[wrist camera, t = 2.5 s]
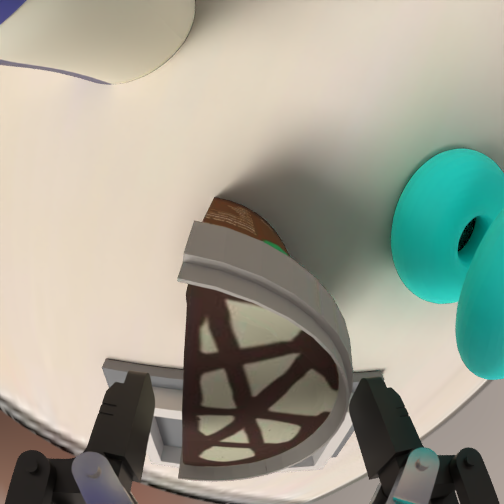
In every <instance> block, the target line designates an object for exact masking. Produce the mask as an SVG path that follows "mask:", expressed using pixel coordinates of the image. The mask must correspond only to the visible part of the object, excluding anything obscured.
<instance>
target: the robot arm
mask: <svg viewBox="0 0 504 504" xmlns="http://www.w3.org/2000/svg"><path fill="white" fill-rule="evenodd" d="M154 410H155V396H154V392H153V387H152V383H151V378H150V374H149V373H145V372H138V371H132V370H129V371H128V373H127V375H126V378H125V381H124V383H119V382H115V383H114V384H113V385H112V386H111V387H110V388H109V389H108V390H107V391H106V394H105V396H104V399H103V402H102V405H101V407H100V410H99V414H98V416H97V419H96V422H95V425H94V427H93V430H92V433H91V436H90V440H89V443H88V445H87V448H86V449H85V451H84V452H83V453H81V454H80V455H78V456H77V457H75V458H72V459H47V458H46V457H45V456H44V455H43V454H42V453H41V452H38V451H35V450H29V451H25V452H23V453H22V454H21V455H20V456H19V458H18V460H17V463H16V466H15V469H14V472H13V475H12V479H11V483H10V486H9V490H8V494H7V497H6V502H5V504H138V502H137V501H136V499H135V498H134V496H133V495H132V493H131V491H130V490H131V484H132V481H136V482H141V477H142V472H143V466H144V461H145V455H146V450H147V445H148V440H149V435H150V430H151V425H152V420H153V415H154ZM349 414H350V417H351V421H352V424H353V427H354V430H355V433H356V437H357V440H358V443H359V446H360V450H361V453H362V456H363V460H364V463H365V466H366V470H367V473H368V477H369V479H374V478H378V477H379V479H380V483H379V485H378V487H377V489H376V491H375V493H374V495H373V497H372V499H371V501H370V503H369V504H459V503H458V500H457V497H456V494H455V490H456V491H457V494H458V498H459V501H460V504H499V501H498V498H497V495H496V493H495V490H494V487H493V484H492V482H491V479H490V476H489V474H488V471H487V469H486V467H485V464H484V462H483V459H482V457H481V455H480V453H479V452H478V451H477V450H475V449H473V448H464V449H462V450H461V451H460V452H459V453H458V454H457V455H436V453H435V452H434V451H432V450H431V449H429V448H424V447H423V445H422V443H421V441H420V439H419V436H418V434H417V432H416V430H415V427H414V425H413V423H412V421H411V418H410V416H408V412H407V410H406V408H405V406H404V403H403V401H402V399H401V397H400V395H398V394H397V393H396V392H395V391H394V390H393V389H392V388H387V387H386V385H385V382H384V380H383V379H382V377H380V376H377V377H367V378H362V379H361V380H360V382H359V384H358V386H357V388H356V390H355V392H354V394H353V396H352V398H351V400H350V403H349Z"/></svg>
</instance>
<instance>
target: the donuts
mask: <svg viewBox="0 0 504 504" xmlns="http://www.w3.org/2000/svg"><path fill="white" fill-rule="evenodd" d="M475 217H476V222H475V227H474V230H473V233H472V235H471V237H470V239H469V241H468V242H467V244H466V245H465V246H464V247H463V248H462V249H461V250H460V251H459V252H458V244H459V239H460V237H461V235H462V232H463V231H464V229H465V227H466V226H467V225H468V223H469V222H470V221H471V220H472V219H474V218H475ZM391 250H392V257H393V261H394V264H395V267H396V270H397V273H398V275H399V277H400V278H401V280H402V282H403V283H404V284H405V286H406V287H407V288H408V289H409V290H410V291H411V292H412V293H413V294H415V295H416V296H418V297H419V298H421V299H423V300H425V301H429V302H433V303H438V304H446V303H454V302H458V307H457V314H456V341H457V347H458V351H459V353H460V356H461V359H462V361H463V362H464V364H465V365H466V367H467V368H468V369H469V370H470V371H471V372H472V373H474V374H475V375H476V376H479V377H481V378H484V379H489V380H497V379H503V378H504V173H503V171H502V170H501V169H500V167H499V166H498V165H497V164H496V163H495V162H494V161H493V160H492V159H490V158H489V157H487V156H486V155H484V154H483V153H480V152H478V151H475V150H471V149H464V148H459V149H452V150H447V151H444V152H442V153H439V154H437V155H436V156H434V157H432V158H431V159H429V160H428V161H427V162H426V163H424V164H423V165H422V166H421V167H420V168H419V169H418V170H417V171H416V172H415V174H414V175H413V176H412V177H411V179H410V180H409V182H408V183H407V185H406V187H405V188H404V190H403V192H402V194H401V196H400V199H399V201H398V204H397V207H396V210H395V213H394V217H393V223H392V231H391Z"/></svg>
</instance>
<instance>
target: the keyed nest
mask: <svg viewBox="0 0 504 504" xmlns="http://www.w3.org/2000/svg"><path fill="white" fill-rule="evenodd" d="M102 369H103V372H104V375H105V378H106V380H107V383H108V386H109V388H110V387H111V386H112V385H113V384H114V383H115V382H119V383H124V381H125V378H126V375H127V373H128V371H129V370H132V371H138V372H145V373H149V374H150V378H151V383H152V387H153V392H154V396H155V410H154V415H153V420H152V425H151V430H150V435H149V440H148V445H147V450H146V453H147V456H148V458H149V460H150V462H151V464H155V465H161V466H168V467H175V468H179V466H180V458H181V450H182V396H183V372H184V370H180V369H171V368H163V367H155V366H148V365H141V364H134V363H128V362H122V361H116V360H110V359H106V360H105V362H104V364H103V366H102ZM377 376H380V377H382V379H383V380H384V378H383V375H382V373H381V371H373V372H360V373H353V388H352V392H351V396H350V399H349V403H350V400H351V398H352V396H353V394H354V392H355V390H356V388H357V386H358V384H359V382H360V380H361V379H362V378H367V377H377ZM353 431H354V427H353V424H352V421H351V417H350V414H349V406H348V410H347V413H346V416H345V420H344V421H343V423H342V425H341V426H340V428H339V430H338V431H337V433H336V434H335V435H334V436H333V437H332V439H331V440H330V441H329V442H328V443H327V444H326V445H325V446H324V447H322V448H321V449H320V450H319V451H317V452H316V453H315V454H313V455H312V456H310V457H308V458H307V459H305V460H303V461H301V462H300V463H297V464H295V465H293V466H291V467H288V468H286V469H284V470H281V471H278V472H297V471H309V470H320V469H323V468H324V466H325V465H326V464H327V462H328V461H329V459H330V458H331V457H336V456H337V455H338V453H339V452H340V451H341V449H342V448H343V446H344V445H345V443H346V442H347V440H348V439H349V437H350V436H351V434H352V433H353ZM275 473H277V472H275Z"/></svg>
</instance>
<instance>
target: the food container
mask: <svg viewBox="0 0 504 504" xmlns="http://www.w3.org/2000/svg"><path fill="white" fill-rule="evenodd" d="M177 281H178V282H182V283H187V284H188V287H187V292H186V301H187V316H186V332H185V347H184V372H183V396H182V450H181V458H180V466H179V475H178V479H185V480H193V481H234V480H242V479H250V478H255V477H259V476H264V475H268V474H271V473H275V472H278V471H281V470H284V469H286V468H288V467H291V466H293V465H295V464H297V463H300V462H301V461H303V460H305V459H307V458H308V457H310V456H312V455H313V454H315V453H316V452H317V451H319V450H320V449H321V448H322V447H324V446H325V445H326V444H327V443H328V442H329V441H330V440H331V439H332V437H333V436H334V435H335V434H336V433H337V431H338V430H339V428H340V426H341V425H342V423H343V421H344V420H345V416H346V413H347V410H348V406H349V399H350V396H351V392H352V388H353V367H352V356H351V346H350V338H349V334H348V331H347V327H346V323H345V320H344V318H343V316H342V314H341V312H340V310H339V308H338V306H337V304H336V303H335V301H334V299H333V298H332V297H331V295H330V294H329V293H328V292H327V290H326V289H325V288H324V287H323V286H322V284H321V283H320V282H319V281H318V280H317V279H316V278H315V277H314V276H313V275H312V274H310V273H309V272H308V271H307V270H306V269H304V268H303V267H302V266H301V265H300V264H298V263H297V262H296V261H295V260H293V259H292V258H290V256H289V254H288V252H287V250H286V248H285V246H284V244H283V242H282V241H281V239H280V238H279V236H278V234H277V233H276V231H275V230H274V229H273V228H272V227H271V226H270V225H269V224H268V223H267V221H265V220H264V219H263V218H262V217H260V216H259V215H258V214H257V213H255V212H253V211H252V210H250V209H248V208H246V207H245V206H242V205H240V204H237V203H235V202H232V201H229V200H224V199H220V198H215V197H214V199H213V201H212V203H211V205H210V207H209V209H208V211H207V213H206V215H205V217H204V219H203V221H202V222H198V221H194V223H193V226H192V229H191V232H190V235H189V238H188V242H187V245H186V248H185V251H184V258H183V264H182V267H181V270H180V273H179V275H178V280H177Z"/></svg>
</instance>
